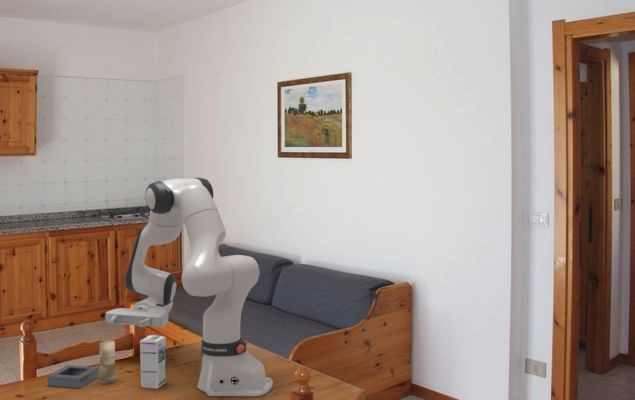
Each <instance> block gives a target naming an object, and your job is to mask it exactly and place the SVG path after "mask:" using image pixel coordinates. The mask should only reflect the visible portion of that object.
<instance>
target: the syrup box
mask: <svg viewBox="0 0 635 400" xmlns="http://www.w3.org/2000/svg"><path fill="white" fill-rule="evenodd" d="M166 337H167V336H166V335H165V336H164V335H158V334H154V335H153V334H152V335H151V334H150V335H148V336H147V337H145V338H143V339H141V340H140V341H139V345H140V346H139V351H140V352H139V353H140V356H139V357H140V358H139V359H140V360H139V361H140V387H141V388H145V389H153V390H154V389H155V390H157V389H158V390H159V388H161V387H162V386H163V385H164V384H166V383H167V382H168V381H167V338H166Z"/></svg>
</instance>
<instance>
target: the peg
mask: <svg viewBox="0 0 635 400" xmlns="http://www.w3.org/2000/svg"><path fill="white" fill-rule="evenodd" d="M115 382H116V343H115V341H114V340H103V341H100V342H99V384H102V385H110V384H113V383H115Z"/></svg>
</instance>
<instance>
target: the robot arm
mask: <svg viewBox="0 0 635 400" xmlns="http://www.w3.org/2000/svg"><path fill="white" fill-rule="evenodd" d="M145 202H146V205H147V208H148V209H149V217H148V222H147V224H146V225H144V226H142V227H141V228H140V230H139V231H138V234H137V236H136V239H135V242H134V245H133V247H132V248H133V249H132V252H131V255H130V257H131V258H130V260H129V265H128V266H127V269H126V272H125V275H124V277H123V283H124V286H125V287H126V289H127V290H128V292H131V293H132V292H133V293H137V294H142V295H146V296H147V298H145V299H142V300H140V301H138V302H136V303H134V305H133V306H132V308H124V307H122V308H119V307H118V308H114V309H111V310H108V311H106V312H105V322H106V323H107V324H109V325H111V326H116V325H130V326H136V327H137V328H146V327H155V328H160V327H165V326H166V325H168V324H169V313H170V312H171V310H172V309H173V306H174V300H175V299H176V295H177V293H178V292H177V291H178V282H177V279H176V277H175V275H174V274H173V273H171V272H167V271H164V270H161V269H156V268H153V267H149V266H147V265H146V264H145V260H146V256H147V252H148V251H149V250H148V249H149V247H152V246H162V245H166V244H169V243H172V242H174V241H175V240H176V239H178V237H179V236H180V235H181V232H182V226H183V224H184V227H185V230H186V234H187V238H188V240H189V245H190V256H189V257H190V258H189V261H188V262H187V264H186V265H185V266H184V268H183V270H182V273H181V283H182V287H183V289H184V290H185V292H186V293H187V294H188V295H190V296H191V297H192V296H193V297H205V298H206V297H212V296H215V298H214V300H213V302H212V304H211V305H210V306H209V307H207V308H206V309H205V311H204V312H203V316H202V339H201V345H200V353H201V367H200V374H199V379H198V383H197V385H196V387H197V388H198V389H199V390H200V391H202V392H204V393H205V394H206V395H207V396H208V397H261V396H263V395H266V394H267V393H269V392H270V390H271V389H272V388H273V386H274V383H273V379H272V378H271V377H269V376H267V377H266V369H265V366H264V364H263V362H261V360H258V358H256V357H255V356H253V355H252V354H251V353H249V352H248V351H247V346H248V340H244V339H242V338H241V320H242V319H241V318H242V311H243V306H244V304H245V302H246V299H247V296H248V295H249V293H250V291H251V289H252V288H253V287H254V286H255V285H256V284H257V283H258V281H259V278H260V266H259V264H258V263H257V260H256V259H255V258H254V257H252V256H249V255H242V254H233V255H232V254H231V255H226V256H221V254H220V252H219V246H221V244H223V242H224V241H225V238H226V234H227V233H226V229H225V226H224V223H223V221H222V217H221V215H220V212H219V209H218V207H217V205H216V202H215V200H214V188H213V185H212V184H211V182H210V181H209V180H208V179H206V178H204V177H194V178H193V177H192V178H190V177H189V178H179V177H178V178H170V179H166V180H158V181H157V180H156V181H154V182H151V183H149V184H148V186H147V188H146V190H145Z"/></svg>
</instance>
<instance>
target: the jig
mask: <svg viewBox="0 0 635 400" xmlns="http://www.w3.org/2000/svg"><path fill="white" fill-rule="evenodd" d="M98 378H100V366H87V365H85V366H83V365H73V364H72V365H71V364H67V365H66V366H63V367H62V368H59V369H58V370H56V371H54V372H52V373H51V374H49V375H47V387H56V388H68V389H78V390H80V389H82V388H84V387H85V386H87V385H88V384H89V383H90V384H91V382H94V381H95V380H96V379H98Z"/></svg>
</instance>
